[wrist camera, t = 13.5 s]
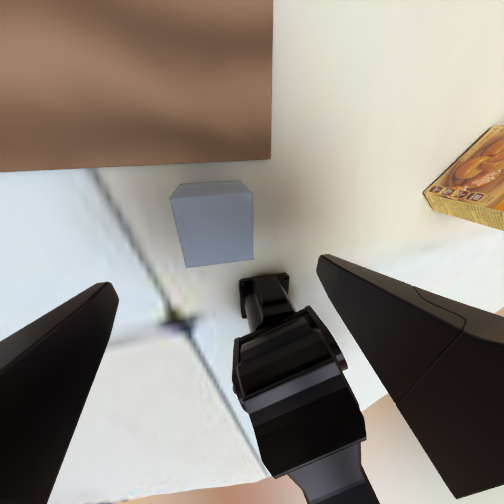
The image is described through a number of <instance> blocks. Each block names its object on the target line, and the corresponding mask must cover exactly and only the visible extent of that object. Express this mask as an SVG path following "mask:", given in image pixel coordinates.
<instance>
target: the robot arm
mask: <svg viewBox="0 0 504 504" xmlns="http://www.w3.org/2000/svg"><path fill="white" fill-rule="evenodd" d="M316 271H317V275H318V277H319V279H320V281H321V283H322V285H323V287H324V289H325V291H326V293H327V295H328V297H329V299H330V301H331V302H332V304H333V306H334V307H335V309H336V311H337V312H338V314H339V315H340V317H341V318H342V320H343V322H344V323H345V325H346V326H347V328H348V330H349V331H350V333H351V334H352V336H353V337H354V339H355V341H356V342H357V344H358V345H359V347H360V349H361V350H362V352H363V353H364V355H365V357H366V358H367V360H368V361H369V363H370V364H371V366H372V368H373V369H374V371H375V372H376V374H377V376H378V377H379V379H380V380H381V382H382V384H383V385H384V387H385V388H386V390H387V391H388V393H389V394H390V396H391V398H392V399H393V401H394V402H395V403H396V406H397V408H398V409H399V411H400V412H401V414H402V415H403V417H404V419H405V420H406V422H407V423H408V425H409V427H410V428H411V430H412V431H413V433H414V434H415V436H416V438H417V439H418V441H419V442H420V444H421V446H422V447H423V449H424V450H425V452H426V453H427V455H428V457H429V458H430V460H431V462H432V463H433V465H434V466H435V468H436V469H437V471H438V473H439V474H440V476H441V477H442V479H443V481H444V482H445V484H446V485H447V487H448V488H449V490H450V491H451V493H452V494H453V495H454V497H455V498H456V499H459V498H462V497H466V496H469V495H472V494H475V493H479V492H482V491H485V490H488V489H491V488H494V487H498V486H501V485H504V317H502V316H499V315H496V314H493V313H490V312H487V311H484V310H481V309H478V308H475V307H472V306H469V305H466V304H463V303H460V302H457V301H454V300H451V299H448V298H445V297H442V296H439V295H437V294H434V293H431V292H428V291H426V290H423V289H420V288H418V287H415V286H411V285H410V284H407V283H404V282H402V281H399V280H396V279H394V278H391V277H388V276H386V275H383V274H380V273H378V272H375V271H372V270H370V269H367V268H364V267H362V266H359V265H356V264H354V263H351V262H348V261H346V260H343V259H340V258H338V257H335V256H332V255H330V254H325V255H320V257H319V259H318V264H317V269H316ZM284 277H285V278H284ZM242 283H244V284H242ZM288 288H289V275H288V274H287V273H282V274H275V275H269V276H262V277H255V278H249V279H242V280H240V281H239V293H240V305H241V315H242V318H247V319H248V323H249V328H250V332H251V333H249V334H247V335H245V336H243V337H241V338H240V337H238V338H236V339H234V350H233V369H232V382H233V391H234V393H235V394H236V395H237V397H238V400H239V402H240V404H241V406H242V408H243V409H244V411H245V412H247V413H248V414H249V417H250V420H251V423H252V425H253V429H254V432H255V436H256V439H257V443H258V447H259V451H260V455H261V459H262V462H263V464H264V465H265V466H266V468H267V469H268V471H269V472H270V473H271V475H272V476H273V477H274V478H275V479H277V478H279V477H281V476H284V475H286V474H287V475H288V476H289V477H290V478H291V479H292V480H293V481H294V482H295V483H296V484H297V485H298V486H299V487H300V488H301V489H302V491H303V493H304V496H305V498H306V501H307V504H380V503H379V501H378V499H377V497H376V494H375V492H374V490H373V488H372V486H371V484H370V482H369V480H368V478H367V476H366V474H365V472H364V469H363V467H362V465H361V442H362V441H365V440H366V430H365V421H364V417H363V415H362V413H361V411H360V408H359V404H358V402H357V400H356V398H355V396H354V394H353V392H352V390H351V388H350V386H349V384H348V382H347V380H346V378H345V376H344V374H343V372H342V371H343V370H346V369H348V366H347V363H346V360H345V358H344V356H343V354H342V352H341V350H340V348H339V346H338V345H337V343H336V341H335V339H334V338H333V336H332V335H331V333H330V332H329V330H328V329H327V327H326V326H325V325H324V323H323V322H322V321H321V320H320V318H319V317H318V316H317V314H316V313H315V312H314V311H313V309H312V308H311V307H310V305H309V306H306V307H305V308H304V309H302V310H300V311H298V312H296V310H295V308H294V306H293V304H292V302H291V300H290V298H289V297H288ZM118 304H119V298H118V295H117V293H116V291H115V289H114V287H113V285H112V284H111V283H110V282H102V283H96V284H95V285H93V286H91V287H90V288H88V289H86V290H85V291H83V292H81V293H80V294H78V295H76V296H75V297H73V298H71V299H70V300H68V301H67V302H65V303H63V304H62V305H60V306H58V307H57V308H55V309H53V310H52V311H50V312H48V313H47V314H45V315H43V316H42V317H40V318H38V319H37V320H35V321H34V322H32V323H30V324H29V325H27V326H25V327H24V328H22V329H20V330H19V331H17V332H15V333H14V334H12V335H10V336H9V337H7V338H5V339H4V340H2V341H1V342H0V504H47V502H48V499H49V497H50V494H51V491H52V489H53V486H54V484H55V481H56V478H57V476H58V473H59V470H60V468H61V465H62V463H63V460H64V457H65V455H66V452H67V449H68V447H69V444H70V441H71V439H72V436H73V434H74V431H75V428H76V426H77V423H78V420H79V418H80V415H81V413H82V410H83V407H84V405H85V402H86V399H87V397H88V394H89V391H90V389H91V386H92V384H93V381H94V378H95V376H96V373H97V370H98V368H99V365H100V363H101V360H102V357H103V355H104V352H105V349H106V347H107V344H108V341H109V338H110V335H111V331H112V327H113V323H114V319H115V315H116V312H117V308H118Z"/></svg>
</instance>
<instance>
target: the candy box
mask: <svg viewBox="0 0 504 504" xmlns="http://www.w3.org/2000/svg"><path fill="white" fill-rule="evenodd" d="M423 193H424V195H425V196H426V198H427V199H428V201H429V203H430V205H431V207H432V208H433V210H434V211H437V212H440V213H444V214H447V215H451V216H454V217H457V218H461V219H464V220H468V221H471V222H475V223H478V224H482V225H485V226H489V227H492V228H496V229H499V230H503V231H504V126H494V127H492V128H491V129H490V130H489V131H488V132H487V133H486V134H485V135H484V136H483V137H482V138H481V139H479V140H478V141H477V142H476V143H475V144H474V145H473V146H472V147H471V148H470V149H469V150H468V151H467V152H466V153H465V154H464V155H462V156H461V157H460V158H459V159H458V160H457V161H456V162H455V163H454V164H453V165H452V166H451V167H450V168H449V169H448V170H447V171H446V172H445V173H444V174H443V175H442V176H441V177H440V178H439V179H438V180H436V181H435V182H434V183H433V184H432V185H431V186H429V187H428V188H427V189H426V190H425V191H424V192H423Z"/></svg>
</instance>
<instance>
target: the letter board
mask: <svg viewBox="0 0 504 504" xmlns="http://www.w3.org/2000/svg"><path fill="white" fill-rule="evenodd" d="M272 40H273V0H0V172H13V171H34V170H54V169H75V168H95V167H116V166H137V165H157V164H178V163H198V162H219V161H240V160H260V159H271V102H272Z"/></svg>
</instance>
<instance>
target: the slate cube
mask: <svg viewBox="0 0 504 504" xmlns="http://www.w3.org/2000/svg"><path fill="white" fill-rule="evenodd" d="M170 202H171V206H172V210H173V214H174V219H175V223H176V227H177V231H178V235H179V240H180V244H181V248H182V252H183V256H184V260H185V265H186V268H190V267H198V266H206V265H214V264H221V263H229V262H237V261H245V260H252V259H254V255H253V213H252V192H251V191H250V190H249V189H248V188H247V187H246V186H245V185H244V184H243V183H242V182H241V181H227V182H210V183H193V184H180V185H179V187H178V188H177V189H176V191H175V192H174V193H173V195H172V196H171V197H170Z"/></svg>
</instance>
